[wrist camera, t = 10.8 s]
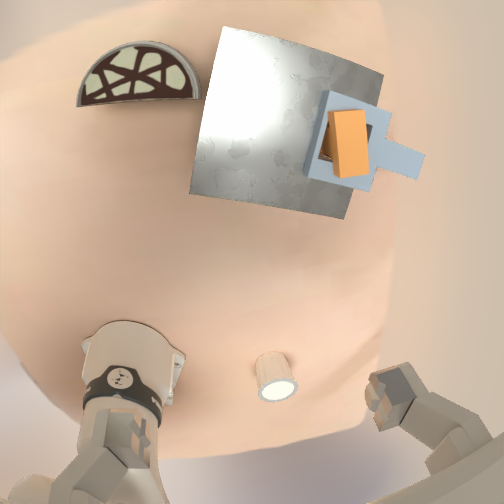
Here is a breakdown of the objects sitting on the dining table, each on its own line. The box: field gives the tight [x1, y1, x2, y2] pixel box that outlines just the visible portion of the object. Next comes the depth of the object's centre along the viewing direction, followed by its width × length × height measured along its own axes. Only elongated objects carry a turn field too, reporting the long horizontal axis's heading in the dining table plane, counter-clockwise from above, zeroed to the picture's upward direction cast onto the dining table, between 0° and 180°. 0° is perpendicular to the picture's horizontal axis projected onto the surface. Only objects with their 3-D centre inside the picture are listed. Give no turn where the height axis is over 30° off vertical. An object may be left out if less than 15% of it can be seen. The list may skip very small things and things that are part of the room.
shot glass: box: [256, 352, 298, 402], centre depth 52 cm, size 7×7×7 cm
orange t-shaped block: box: [320, 109, 369, 178], centre depth 29 cm, size 6×3×8 cm, turn 9°
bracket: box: [303, 90, 425, 192], centre depth 28 cm, size 8×13×3 cm, turn 78°
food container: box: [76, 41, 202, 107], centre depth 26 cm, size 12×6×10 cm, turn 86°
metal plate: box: [189, 26, 384, 219], centre depth 31 cm, size 16×16×10 cm
